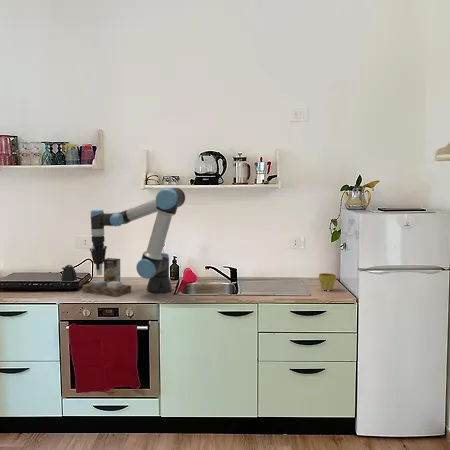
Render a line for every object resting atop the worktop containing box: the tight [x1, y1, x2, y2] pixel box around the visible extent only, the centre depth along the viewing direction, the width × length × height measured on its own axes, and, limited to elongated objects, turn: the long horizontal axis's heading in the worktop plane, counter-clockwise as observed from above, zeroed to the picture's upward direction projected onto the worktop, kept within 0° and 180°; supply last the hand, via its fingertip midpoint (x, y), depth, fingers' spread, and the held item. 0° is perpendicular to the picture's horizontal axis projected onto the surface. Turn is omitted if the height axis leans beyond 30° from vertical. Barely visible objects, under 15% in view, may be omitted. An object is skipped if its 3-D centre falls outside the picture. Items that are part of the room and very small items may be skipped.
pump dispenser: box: [60, 264, 78, 281], centre depth 314 cm, size 10×10×15 cm
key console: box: [82, 282, 132, 298], centre depth 308 cm, size 26×13×4 cm, turn 63°
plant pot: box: [318, 272, 337, 291], centre depth 317 cm, size 10×10×10 cm
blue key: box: [91, 280, 106, 286], centre depth 310 cm, size 6×6×3 cm
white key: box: [107, 281, 123, 288], centre depth 305 cm, size 6×6×3 cm
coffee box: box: [103, 257, 121, 283], centre depth 332 cm, size 9×6×16 cm
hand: (99, 274), depth 309 cm, fingers closed
